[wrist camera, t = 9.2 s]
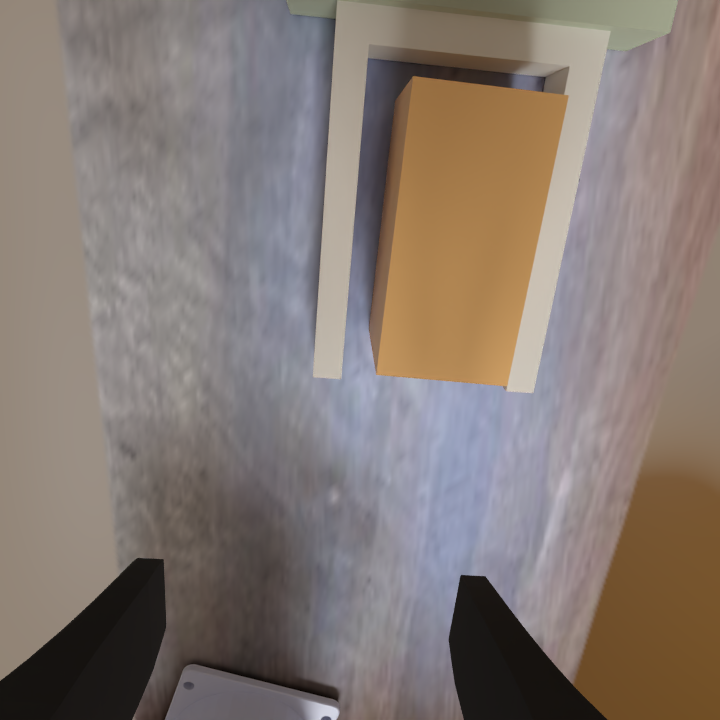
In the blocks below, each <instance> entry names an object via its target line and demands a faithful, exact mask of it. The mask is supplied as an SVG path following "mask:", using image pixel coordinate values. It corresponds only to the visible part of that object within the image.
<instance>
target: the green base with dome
mask: <svg viewBox="0 0 720 720" xmlns="http://www.w3.org/2000/svg"><path fill="white" fill-rule="evenodd" d="M286 1H287V4H288V7H289V10H290V13H291V14H295V15H304V16H313V17H322V18H331V19H336V27H335V42H334V58H333V73H332V89H331V104H330V120H329V135H328V151H327V166H326V182H325V197H324V213H323V228H322V244H321V259H320V275H319V290H318V306H317V321H316V337H315V352H314V368H313V377H318V378H332V379H341V373H342V361H343V349H344V337H345V325H346V313H347V301H348V289H349V277H350V265H351V253H352V241H353V229H354V217H355V205H356V193H357V181H358V169H359V157H360V145H361V133H362V121H363V109H364V97H365V85H366V73H367V61H368V58H371V59H380V60H390V61H399V62H408V63H418V64H427V65H436V66H446V67H455V68H464V69H474V70H483V71H492V72H502V73H511V74H520V75H530V76H539V77H546V79H545V84H544V90H543V92H546V93H554V94H562V95H569V98H568V102H567V107H566V112H565V116H564V121H563V126H562V130H561V135H560V140H559V145H558V149H557V154H556V159H555V163H554V168H553V173H552V178H551V182H550V187H549V192H548V196H547V201H546V206H545V211H544V215H543V220H542V225H541V229H540V234H539V239H538V244H537V248H536V253H535V258H534V262H533V267H532V272H531V277H530V281H529V286H528V291H527V295H526V300H525V305H524V310H523V314H522V319H521V324H520V328H519V333H518V338H517V342H516V347H515V352H514V357H513V361H512V366H511V371H510V375H509V380H508V385H507V386H503V388H504V389H505V390H506V391H510V392H524V393H533V392H534V387H535V382H536V378H537V373H538V368H539V364H540V359H541V354H542V350H543V345H544V340H545V336H546V331H547V326H548V322H549V317H550V312H551V308H552V303H553V298H554V294H555V289H556V284H557V280H558V275H559V270H560V266H561V261H562V256H563V252H564V247H565V242H566V238H567V233H568V228H569V224H570V219H571V214H572V210H573V205H574V200H575V196H576V191H577V186H578V182H579V177H580V172H581V168H582V163H583V158H584V154H585V149H586V144H587V140H588V135H589V130H590V125H591V121H592V116H593V111H594V107H595V102H596V97H597V93H598V88H599V83H600V79H601V74H602V69H603V65H604V60H605V55H606V51H607V49H610V50H619V51H628V50H630V49H633V48H635V47H637V46H640V45H642V44H644V43H647V42H649V41H651V40H654V39H656V38H658V37H661V36H663V35H665V34H668V33H670V31H671V27H672V23H673V19H674V15H675V11H676V7H677V2H678V0H286Z"/></svg>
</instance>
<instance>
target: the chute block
mask: <svg viewBox="0 0 720 720" xmlns="http://www.w3.org/2000/svg"><path fill="white" fill-rule="evenodd" d="M568 98H569V95H562V94H554V93H546V92H538V91H530V90H522V89H513V88H505V87H497V86H489V85H481V84H473V83H465V82H457V81H449V80H441V79H433V78H425V77H417V76H413V77H412V78H411V80H410V81H409V82H408V84H407V85H406V87H405V88H404V89H403V91H402V92H401V93H400V95H399V96H398V97H397V99H396V100H395V106H394V115H393V123H392V132H391V141H390V150H389V158H388V167H387V176H386V184H385V193H384V202H383V210H382V219H381V228H380V236H379V245H378V254H377V263H376V271H375V280H374V289H373V297H372V306H371V315H370V323H369V333H370V339H371V345H372V351H373V358H374V364H375V370H376V375H385V376H396V377H408V378H419V379H430V380H442V381H453V382H465V383H476V384H487V385H499V386H507V385H508V380H509V375H510V371H511V366H512V361H513V357H514V352H515V347H516V342H517V338H518V333H519V328H520V324H521V319H522V314H523V310H524V305H525V300H526V295H527V291H528V286H529V281H530V277H531V272H532V267H533V262H534V258H535V253H536V248H537V244H538V239H539V234H540V229H541V225H542V220H543V215H544V211H545V206H546V201H547V196H548V192H549V187H550V182H551V178H552V173H553V168H554V163H555V159H556V154H557V149H558V145H559V140H560V135H561V130H562V126H563V121H564V116H565V112H566V107H567V102H568Z"/></svg>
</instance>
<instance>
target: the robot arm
mask: <svg viewBox="0 0 720 720" xmlns="http://www.w3.org/2000/svg"><path fill="white" fill-rule="evenodd" d="M165 629H166V608H165V583H164V559H145V558H137V559H136V560H135V561H133V562H132V563H131V564H130V565H129V566H128V567H127V568H126V569H125V570H124V571H123V572H122V573H121V574H120V575H119V576H118V577H117V578H116V579H115V580H114V581H113V582H112V583H111V584H110V585H109V586H108V587H107V588H106V589H105V590H104V591H103V592H102V593H101V594H100V595H99V596H98V597H97V598H96V599H95V600H94V601H93V602H92V603H91V604H90V605H89V606H87V607H86V608H85V609H84V610H83V611H82V612H81V613H80V614H79V615H78V616H77V617H76V618H74V620H72V621H71V622H70V623H69V624H68V625H67V626H66V627H65V628H64V629H62V630H61V631H60V632H59V633H58V634H57V635H56V636H54V637H53V638H52V639H51V640H50V641H49V642H47V643H46V644H45V645H44V646H43V647H42V648H41V649H39V650H38V651H37V652H36V653H35V654H33V655H32V656H31V657H30V658H29V659H27V661H25V662H24V663H22V664H21V665H20V666H19V667H17V668H16V669H15V670H14V671H12V672H11V673H10V674H9V675H7V676H6V677H5V678H3V679H2V680H1V681H0V720H132V719H133V716H134V714H135V712H136V709H137V707H138V705H139V702H140V700H141V698H142V695H143V693H144V691H145V688H146V686H147V683H148V681H149V679H150V676H151V674H152V671H153V668H154V665H155V662H156V659H157V656H158V652H159V649H160V646H161V642H162V639H163V636H164V632H165ZM449 645H450V653H451V661H452V667H453V674H454V681H455V686H456V690H457V694H458V698H459V702H460V706H461V710H462V714H463V718H464V720H607V719H606V718H605V717H604V716H603V715H602V714H601V713H600V712H599V711H598V710H597V709H596V708H595V707H594V706H593V705H592V704H591V703H590V702H589V701H588V700H587V699H586V698H585V697H584V696H583V695H582V694H581V693H580V692H579V691H578V690H577V689H576V688H575V687H574V686H573V685H572V684H571V683H570V681H569V680H568V679H567V678H566V677H565V676H564V675H563V674H562V673H561V671H560V670H559V669H558V668H557V667H556V666H555V665H554V663H553V662H552V661H551V660H550V659H549V658H548V656H547V655H546V654H545V653H544V652H543V650H542V649H541V648H540V647H539V646H538V644H537V643H536V642H535V641H534V639H533V638H532V637H531V636H530V635H529V633H528V632H527V631H526V630H525V628H524V627H523V626H522V624H521V623H520V622H519V621H518V619H517V618H516V617H515V615H514V614H513V613H512V611H511V610H510V609H509V607H508V606H507V605H506V603H505V602H504V601H503V599H502V598H501V597H500V595H499V594H498V593H497V591H496V590H495V589H494V587H493V586H492V584H491V583H490V582H489V581H488V579H487V578H486V577H485V576H468V575H461V576H460V582H459V587H458V592H457V598H456V603H455V608H454V613H453V619H452V624H451V629H450V635H449ZM339 713H340V705H339V703H338V702H337V701H336V700H334V699H330V698H326V697H322V696H318V695H314V694H310V693H306V692H302V691H299V690H295V689H291V688H287V687H283V686H279V685H275V684H271V683H267V682H263V681H259V680H255V679H251V678H247V677H243V676H239V675H235V674H231V673H228V672H224V671H220V670H216V669H212V668H208V667H204V666H200V665H196V664H191V665H187V666H186V667H185V668H184V669H183V672H182V674H181V677H180V680H179V683H178V685H177V688H176V691H175V693H174V696H173V699H172V702H171V704H170V707H169V710H168V712H167V715H166V718H165V720H337V718H338V716H339Z"/></svg>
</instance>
